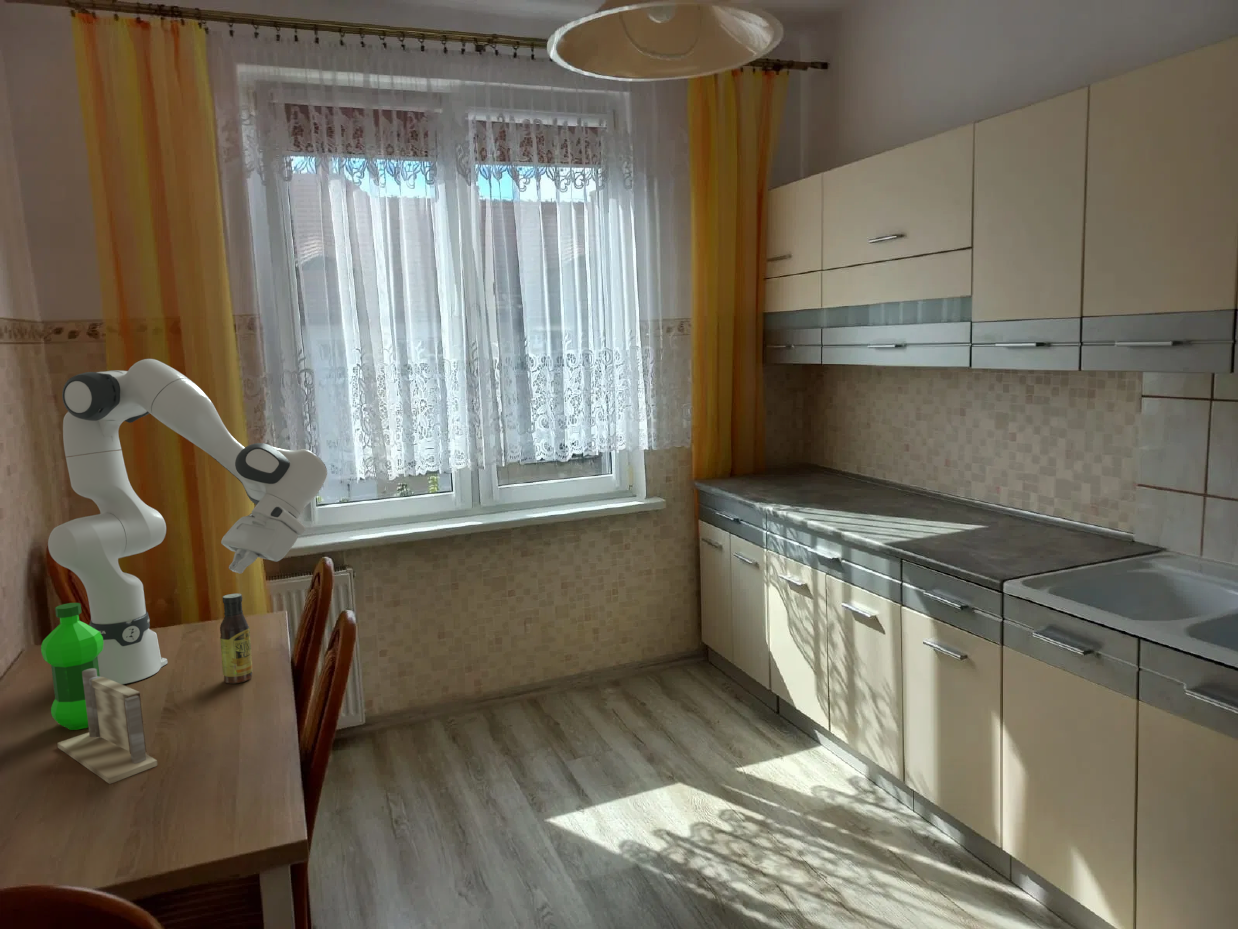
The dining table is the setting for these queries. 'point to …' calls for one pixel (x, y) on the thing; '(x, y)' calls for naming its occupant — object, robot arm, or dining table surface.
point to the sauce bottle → (235, 642)
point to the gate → (111, 710)
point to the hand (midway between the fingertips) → (234, 571)
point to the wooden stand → (110, 743)
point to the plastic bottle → (71, 664)
